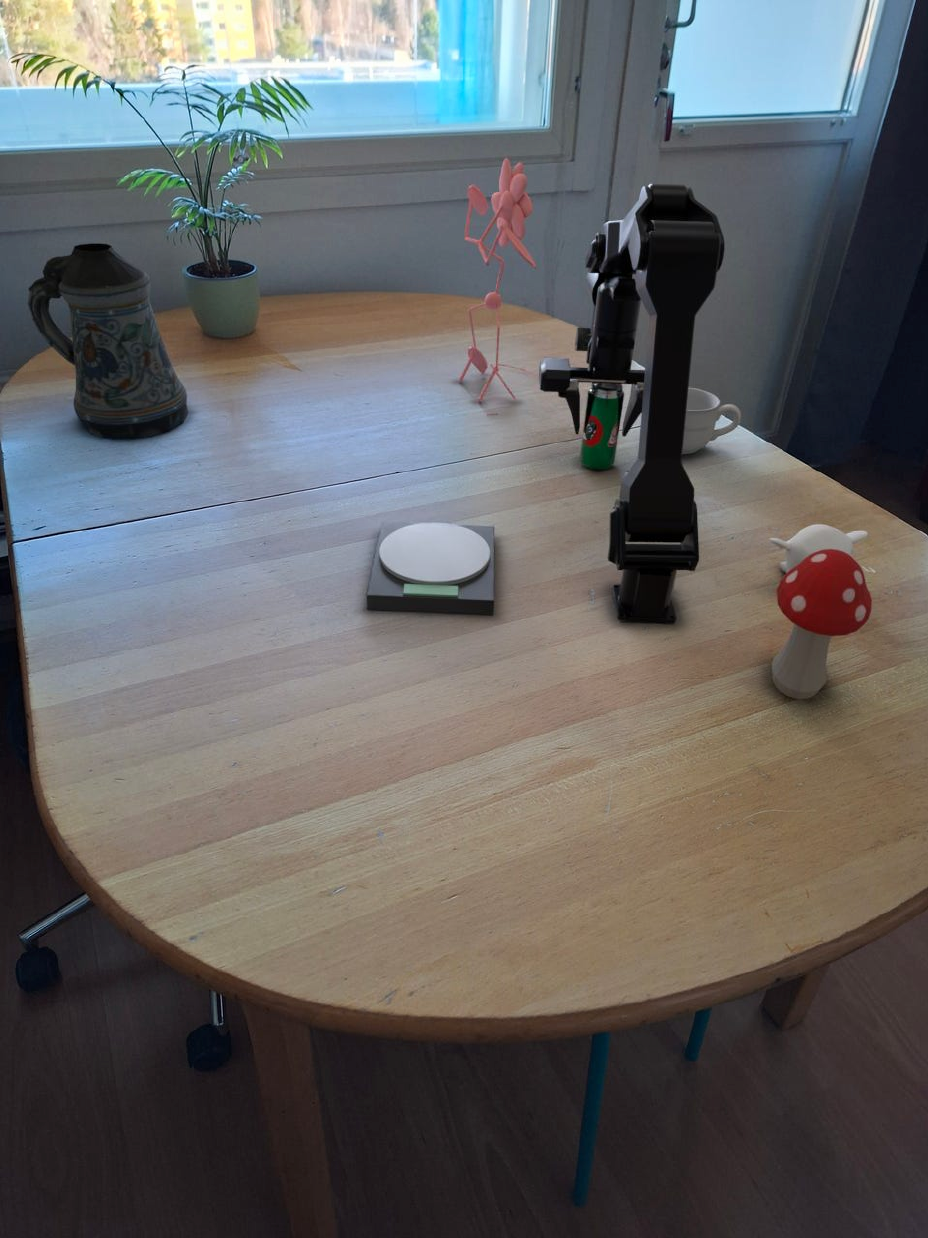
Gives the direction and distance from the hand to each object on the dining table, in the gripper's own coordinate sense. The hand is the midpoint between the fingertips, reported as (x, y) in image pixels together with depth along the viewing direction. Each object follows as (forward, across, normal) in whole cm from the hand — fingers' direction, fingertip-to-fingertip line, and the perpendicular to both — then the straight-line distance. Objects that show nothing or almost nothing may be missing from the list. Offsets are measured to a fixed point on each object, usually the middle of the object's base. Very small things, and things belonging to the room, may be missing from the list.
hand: (600, 434), depth 125 cm
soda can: (+5, 0, 0) cm, 5 cm away
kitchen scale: (+4, +22, +31) cm, 38 cm away
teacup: (+5, -14, -6) cm, 16 cm away
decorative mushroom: (+4, -16, +48) cm, 51 cm away
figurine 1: (+5, +13, -27) cm, 31 cm away
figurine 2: (+4, -22, +31) cm, 38 cm away
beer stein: (+5, +72, -8) cm, 73 cm away
